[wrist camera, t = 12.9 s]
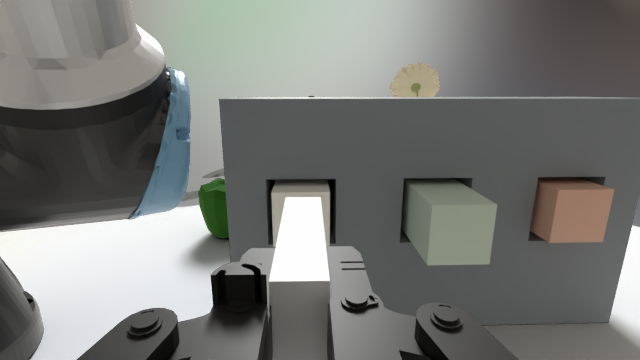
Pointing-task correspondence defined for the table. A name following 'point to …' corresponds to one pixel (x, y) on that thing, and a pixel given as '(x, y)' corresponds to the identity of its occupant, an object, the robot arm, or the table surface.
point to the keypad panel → (444, 163)
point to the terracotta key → (570, 210)
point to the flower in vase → (415, 81)
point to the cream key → (300, 189)
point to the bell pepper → (215, 207)
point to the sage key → (448, 222)
